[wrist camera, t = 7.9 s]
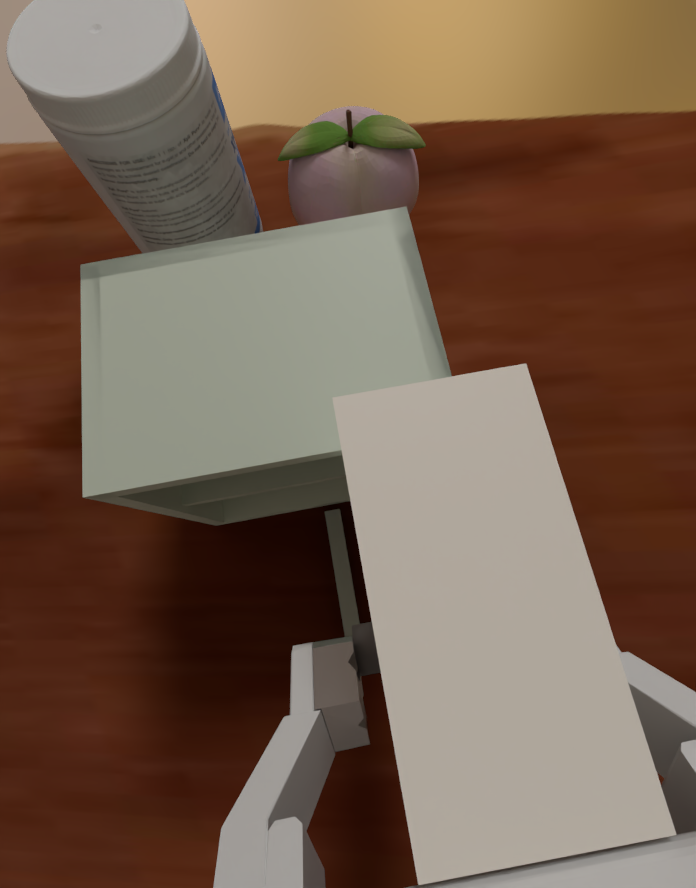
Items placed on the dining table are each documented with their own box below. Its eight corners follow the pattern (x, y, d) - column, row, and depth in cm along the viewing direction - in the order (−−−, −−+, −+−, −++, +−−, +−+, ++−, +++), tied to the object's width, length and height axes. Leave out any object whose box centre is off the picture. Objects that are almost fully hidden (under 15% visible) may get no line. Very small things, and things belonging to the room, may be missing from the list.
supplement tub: (287, 227, 35) (233, 0, 21) (219, 314, 33) (107, 131, 19) (196, 181, 36) (88, -59, 22) (126, 261, 35) (-41, 55, 20)
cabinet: (462, 617, 26) (562, 680, 13) (228, 661, 26) (85, 770, 13) (400, 355, 31) (427, 202, 18) (203, 391, 31) (80, 264, 18)
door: (470, 654, 16) (676, 835, 6) (367, 674, 16) (377, 893, 6) (429, 478, 18) (526, 363, 7) (337, 495, 18) (301, 402, 7)
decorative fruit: (396, 182, 36) (408, 43, 26) (420, 263, 33) (443, 143, 24) (288, 205, 35) (258, 73, 26) (305, 287, 33) (280, 176, 24)
